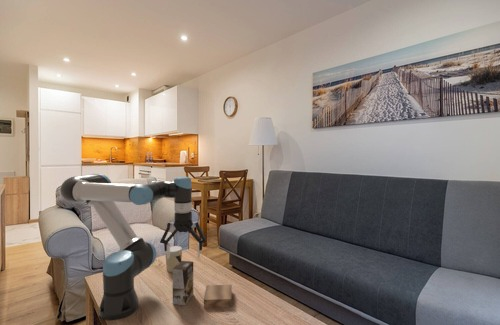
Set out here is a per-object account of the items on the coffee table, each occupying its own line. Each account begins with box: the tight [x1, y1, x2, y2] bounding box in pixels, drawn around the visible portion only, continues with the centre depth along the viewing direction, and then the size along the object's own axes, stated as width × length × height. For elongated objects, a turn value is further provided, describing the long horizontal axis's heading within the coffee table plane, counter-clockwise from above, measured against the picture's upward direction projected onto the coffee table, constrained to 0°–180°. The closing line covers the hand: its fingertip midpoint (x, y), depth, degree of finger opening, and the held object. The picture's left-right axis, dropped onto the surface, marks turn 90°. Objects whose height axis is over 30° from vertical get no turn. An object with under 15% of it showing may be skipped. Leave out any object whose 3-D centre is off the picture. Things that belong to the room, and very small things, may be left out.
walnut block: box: [203, 284, 233, 309], centre depth 120 cm, size 12×12×4 cm
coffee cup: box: [164, 245, 183, 273], centre depth 149 cm, size 9×9×12 cm
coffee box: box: [172, 260, 194, 306], centre depth 119 cm, size 9×6×16 cm
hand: (183, 257), depth 119 cm, fingers open, 13 cm apart
